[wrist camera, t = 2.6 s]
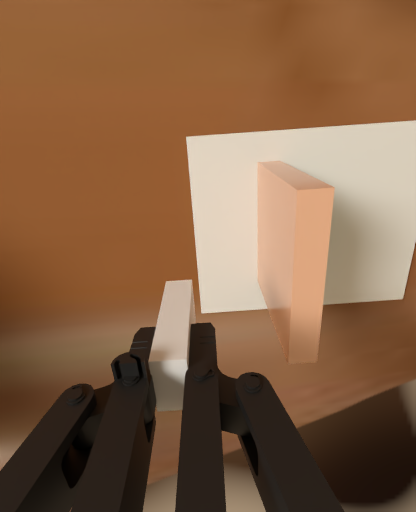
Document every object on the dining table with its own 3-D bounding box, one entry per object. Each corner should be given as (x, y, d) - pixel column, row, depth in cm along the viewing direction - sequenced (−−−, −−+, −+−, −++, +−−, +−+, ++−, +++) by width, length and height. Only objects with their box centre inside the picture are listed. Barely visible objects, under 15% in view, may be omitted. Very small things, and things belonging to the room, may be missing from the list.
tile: (257, 281, 32) (288, 364, 21) (257, 162, 27) (297, 190, 16) (277, 279, 32) (318, 362, 21) (280, 160, 27) (336, 187, 16)
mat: (201, 310, 34) (201, 313, 34) (186, 136, 27) (186, 137, 26) (399, 296, 34) (402, 299, 34) (437, 118, 27) (442, 118, 26)
